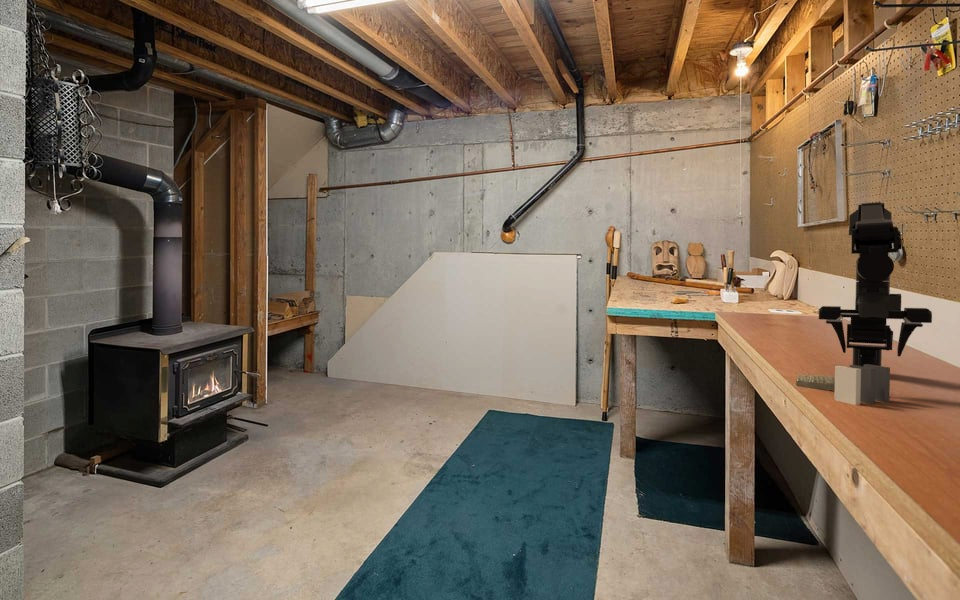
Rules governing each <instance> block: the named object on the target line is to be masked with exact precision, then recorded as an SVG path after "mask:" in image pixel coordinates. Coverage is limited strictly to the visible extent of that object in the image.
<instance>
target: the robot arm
mask: <svg viewBox="0 0 960 600" xmlns="http://www.w3.org/2000/svg"><path fill="white" fill-rule="evenodd" d="M901 233H902V232H901V231H900V230H899V227H898V226H894V223H893V220H892V212H891V211H889V210H888V209H887V208H886V207H885V203H884V202H881V201H880V202H879V201H876V202H863V203H861V204H858V205H857V209H855V211H853V212H852V213H850V214H849V216H848V236H851V239H850V240H851V242H850V243H851V250H850V251H851V253H850V254H852V255H858V258H857V259H856V262H855V263H856V264H855V266H856V268H855V272H856V273H855V303H854V304H855V305H854V306H855V308H854V309H847V308H845V309H843V308H841V307H842V306H840V305H839V306H836V305H835V306H834V305H822V306H821V307H820V308H819V309H818V320H825V324H828V325H831V326H832V328H833V330H834V332H835V333H836V336H837V338H838V341H839V345H840V347H841V349H842V353H843V354H846V352H847V350H846V349H852V365H857V366H864V364H870V365H877V366H882V353H883V351H893V339H894V330H892V329H891V326H890V324H889V325H888V324H887V320H889V319H890V320H902V321H903V322H901V326H900V331H899V337H898V343H897V348H896V349H897V350H896V351H897V352H896V353H897V357H901V356H902V354H903V352H904V349H905V347H906V345H907V342H908V341H909V338H910V337H911V335H912V334H913V332H914V331H915V330H916V329H917V328H922V327H923V326H924V323H925V324H932V322H933V321H932V320H933V314H932V313H933V312H932V311H931V309H929V308H927V307H903V310H902V294H901V293H890V292H891V291H890V290H891V289H890V287H891V275H892V273H893V271H894V268H895V264H894V260H893V259H892V257H890V256H889V254H891V253H892V254H893V253H894V254H895V253H898V252H899V250H902V236H901V235H902V234H901ZM842 318H850V323H847V324H846V338H845V332H844V331H845V330H844V325H843V320H842ZM845 339H846V340H845Z"/></svg>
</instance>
